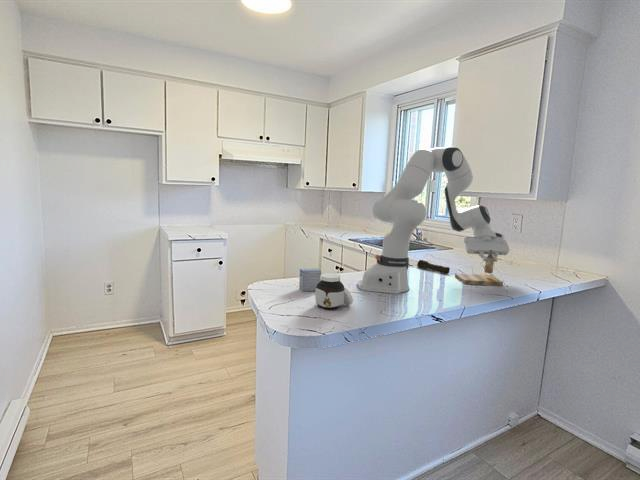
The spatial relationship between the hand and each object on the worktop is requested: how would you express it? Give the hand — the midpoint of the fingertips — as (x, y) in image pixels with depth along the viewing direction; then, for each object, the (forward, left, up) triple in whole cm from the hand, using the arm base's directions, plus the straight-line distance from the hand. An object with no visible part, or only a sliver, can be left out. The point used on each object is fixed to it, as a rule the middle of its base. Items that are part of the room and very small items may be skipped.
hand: (490, 260), depth 175 cm
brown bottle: (0, +1, -6) cm, 6 cm away
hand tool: (-22, +19, -11) cm, 31 cm away
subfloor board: (-5, +1, -10) cm, 11 cm away
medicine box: (-86, -27, -11) cm, 91 cm away
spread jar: (-76, -46, -11) cm, 89 cm away
